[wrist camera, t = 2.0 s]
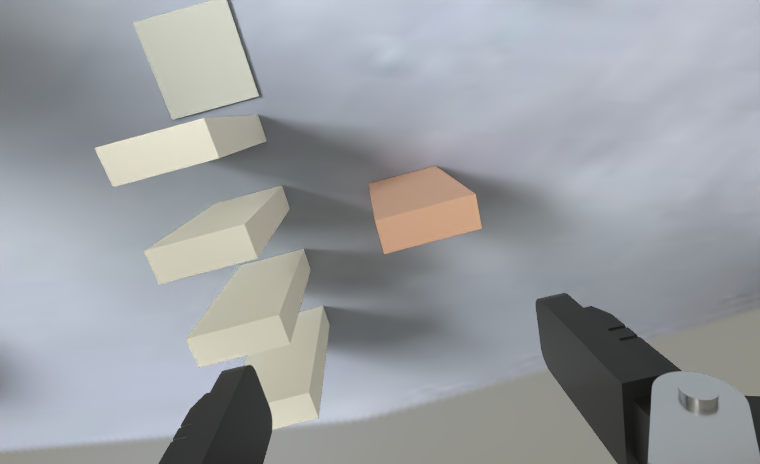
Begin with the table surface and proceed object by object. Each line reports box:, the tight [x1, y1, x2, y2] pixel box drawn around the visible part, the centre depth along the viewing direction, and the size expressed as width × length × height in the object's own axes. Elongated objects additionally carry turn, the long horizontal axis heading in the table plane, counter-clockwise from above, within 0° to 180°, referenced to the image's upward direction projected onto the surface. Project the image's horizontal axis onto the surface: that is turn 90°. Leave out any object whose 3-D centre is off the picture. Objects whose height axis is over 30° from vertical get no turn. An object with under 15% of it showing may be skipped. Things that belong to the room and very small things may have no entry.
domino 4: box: [243, 306, 330, 430], centre depth 27 cm, size 2×5×10 cm, turn 105°
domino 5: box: [369, 166, 482, 254], centre depth 24 cm, size 2×5×10 cm, turn 105°
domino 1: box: [95, 115, 267, 187], centre depth 22 cm, size 2×5×10 cm, turn 105°
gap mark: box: [132, 0, 259, 120], centre depth 25 cm, size 6×6×1 cm
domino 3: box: [186, 249, 311, 368], centre depth 25 cm, size 2×5×10 cm, turn 105°
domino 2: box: [144, 185, 290, 285], centre depth 24 cm, size 2×5×10 cm, turn 105°
